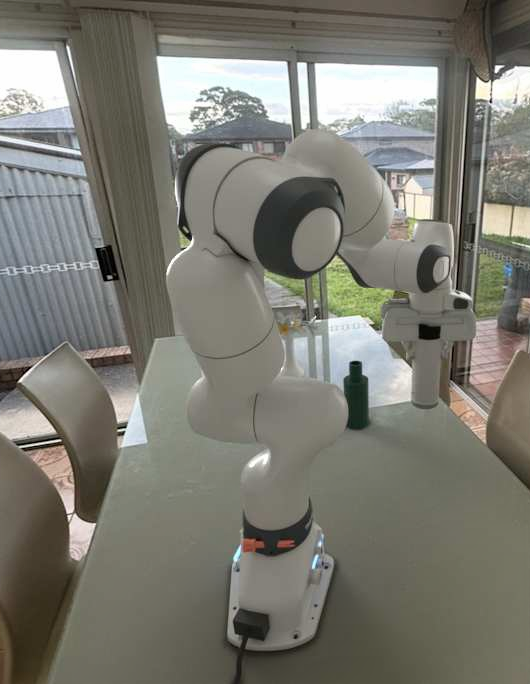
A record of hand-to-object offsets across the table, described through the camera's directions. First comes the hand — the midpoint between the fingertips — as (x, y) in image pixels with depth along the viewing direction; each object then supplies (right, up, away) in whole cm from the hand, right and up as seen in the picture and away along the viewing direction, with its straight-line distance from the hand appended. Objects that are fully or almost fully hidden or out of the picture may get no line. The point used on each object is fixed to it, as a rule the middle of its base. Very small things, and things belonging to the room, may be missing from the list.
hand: (426, 358), depth 98 cm
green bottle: (-16, -20, +31) cm, 40 cm away
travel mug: (0, -11, +4) cm, 11 cm away
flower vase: (-39, -10, +57) cm, 70 cm away
